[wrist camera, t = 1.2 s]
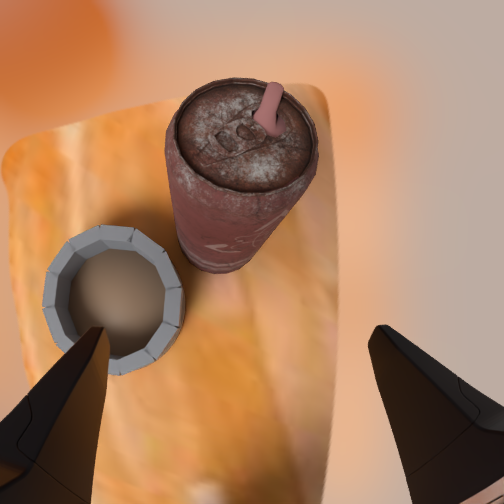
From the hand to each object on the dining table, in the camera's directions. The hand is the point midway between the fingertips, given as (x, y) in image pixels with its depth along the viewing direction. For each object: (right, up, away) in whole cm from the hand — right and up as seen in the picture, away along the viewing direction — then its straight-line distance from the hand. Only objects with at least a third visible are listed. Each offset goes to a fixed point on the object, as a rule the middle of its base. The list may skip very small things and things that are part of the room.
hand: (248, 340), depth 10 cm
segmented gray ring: (-10, -1, +12) cm, 15 cm away
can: (-2, +4, +15) cm, 16 cm away
